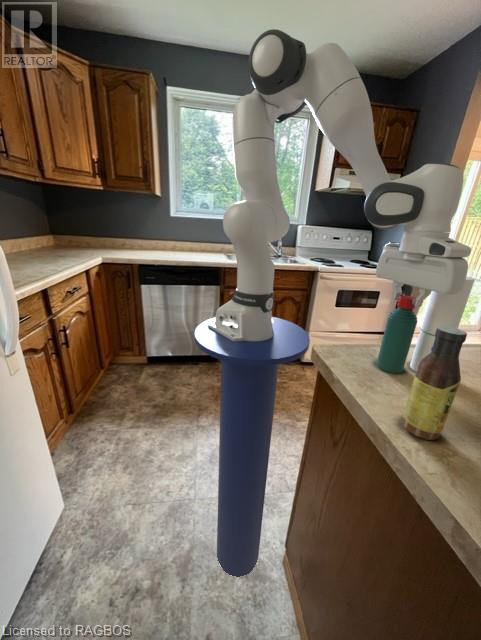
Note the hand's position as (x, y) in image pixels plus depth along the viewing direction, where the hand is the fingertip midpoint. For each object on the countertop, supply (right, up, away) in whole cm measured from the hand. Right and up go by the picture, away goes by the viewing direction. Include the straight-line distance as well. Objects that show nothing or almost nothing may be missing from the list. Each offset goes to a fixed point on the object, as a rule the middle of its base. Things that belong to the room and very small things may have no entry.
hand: (406, 303), depth 66 cm
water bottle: (-1, -17, +6) cm, 18 cm away
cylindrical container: (+9, -18, +6) cm, 20 cm away
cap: (0, +1, 0) cm, 1 cm away
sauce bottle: (-7, -25, -16) cm, 30 cm away
